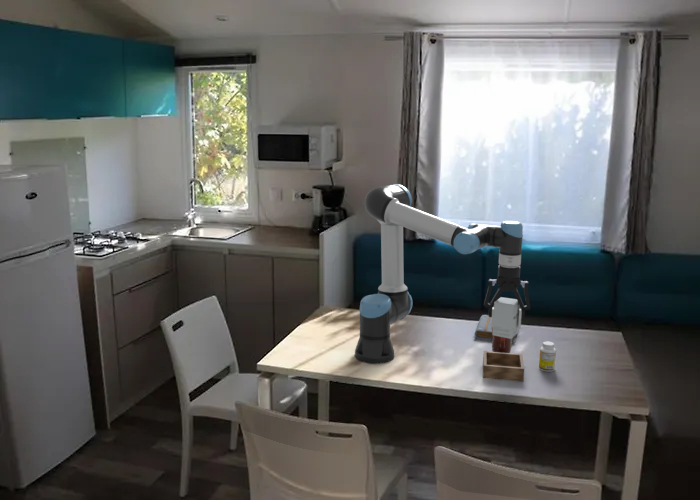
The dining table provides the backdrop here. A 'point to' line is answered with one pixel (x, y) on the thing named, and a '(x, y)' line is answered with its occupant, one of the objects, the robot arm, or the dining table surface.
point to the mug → (501, 344)
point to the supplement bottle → (547, 357)
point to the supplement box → (505, 317)
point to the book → (485, 329)
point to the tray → (503, 366)
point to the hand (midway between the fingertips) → (505, 326)
